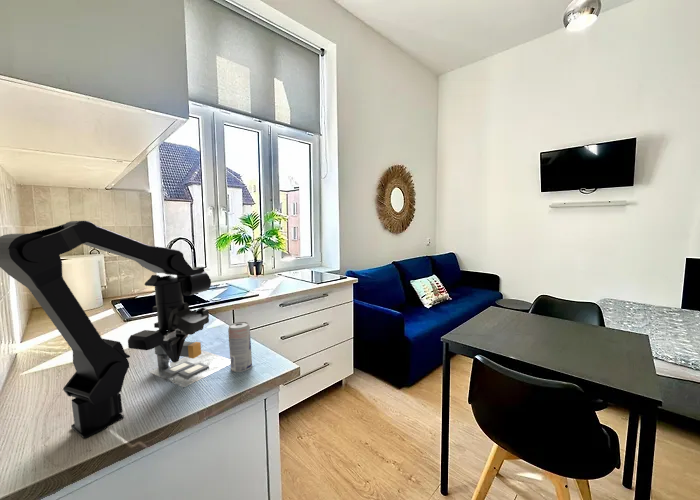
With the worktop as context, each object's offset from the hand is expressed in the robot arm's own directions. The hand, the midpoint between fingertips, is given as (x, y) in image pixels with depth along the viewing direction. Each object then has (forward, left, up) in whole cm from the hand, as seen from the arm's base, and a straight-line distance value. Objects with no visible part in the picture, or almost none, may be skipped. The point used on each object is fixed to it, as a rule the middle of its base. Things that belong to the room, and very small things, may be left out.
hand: (175, 361), depth 76 cm
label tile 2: (+3, +4, -4) cm, 7 cm away
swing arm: (+3, +5, 0) cm, 6 cm away
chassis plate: (+6, +2, -5) cm, 8 cm away
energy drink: (+12, -10, -5) cm, 16 cm away
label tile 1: (+4, 0, -4) cm, 6 cm away
